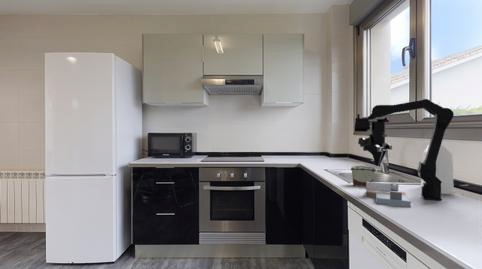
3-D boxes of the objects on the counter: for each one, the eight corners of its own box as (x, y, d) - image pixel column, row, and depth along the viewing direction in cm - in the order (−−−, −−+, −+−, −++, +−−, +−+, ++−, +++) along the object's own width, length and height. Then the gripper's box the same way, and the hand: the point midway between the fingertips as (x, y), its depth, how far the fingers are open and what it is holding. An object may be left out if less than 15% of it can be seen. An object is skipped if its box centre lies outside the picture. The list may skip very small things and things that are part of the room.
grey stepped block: (407, 200, 120) (407, 188, 119) (410, 206, 110) (410, 193, 110) (376, 197, 125) (376, 185, 125) (376, 203, 115) (376, 190, 115)
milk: (453, 194, 131) (455, 138, 131) (424, 192, 136) (425, 137, 136) (447, 189, 142) (448, 137, 142) (420, 187, 147) (421, 137, 146)
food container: (375, 185, 151) (376, 166, 151) (375, 187, 146) (376, 168, 146) (351, 183, 157) (351, 165, 156) (350, 185, 151) (350, 166, 151)
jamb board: (405, 195, 128) (405, 190, 128) (407, 200, 120) (407, 195, 120) (366, 192, 135) (366, 187, 135) (366, 196, 127) (366, 191, 127)
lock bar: (398, 191, 126) (398, 183, 126) (398, 192, 123) (398, 185, 122) (366, 188, 131) (366, 181, 131) (366, 190, 128) (366, 182, 128)
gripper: (369, 131, 145) (368, 162, 145) (352, 132, 132) (351, 165, 133) (392, 132, 137) (392, 164, 137) (376, 132, 124) (376, 168, 125)
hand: (377, 165), depth 133 cm, fingers closed
